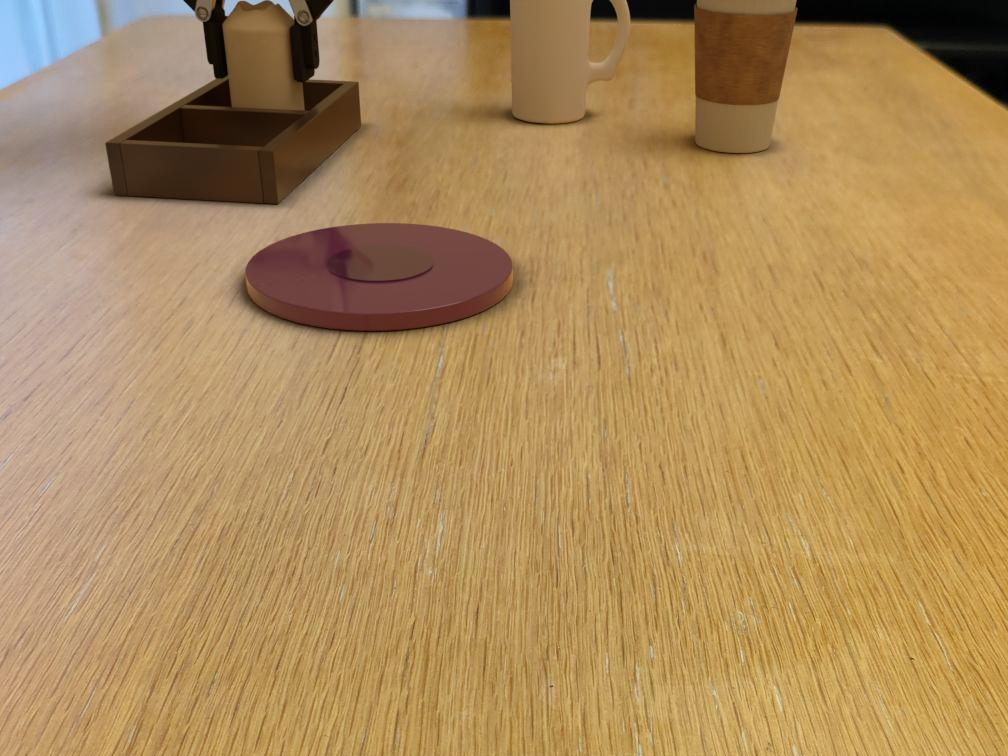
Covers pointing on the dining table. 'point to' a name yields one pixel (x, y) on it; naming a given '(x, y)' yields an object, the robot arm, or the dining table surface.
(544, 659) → the dining table surface
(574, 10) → the mug
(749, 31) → the coffee cup
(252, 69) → the candle
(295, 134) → the divided wooden tray
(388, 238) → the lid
